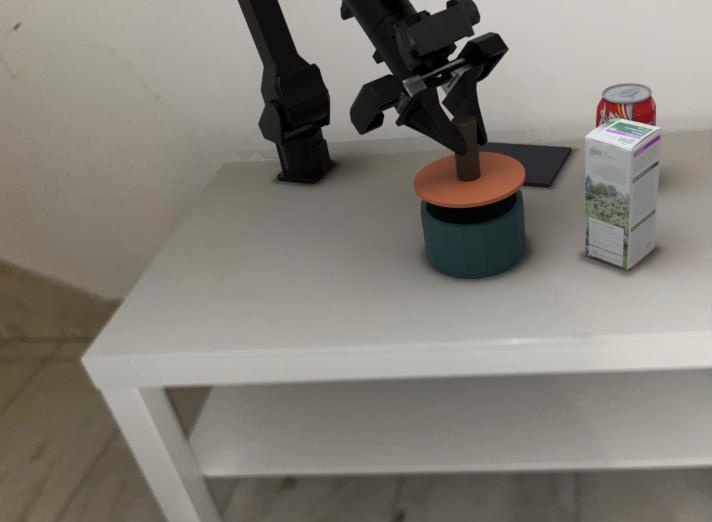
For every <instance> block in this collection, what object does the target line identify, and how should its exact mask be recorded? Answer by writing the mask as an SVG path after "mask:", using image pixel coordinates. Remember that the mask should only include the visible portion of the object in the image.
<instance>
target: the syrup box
mask: <svg viewBox="0 0 712 522" xmlns="http://www.w3.org/2000/svg"><path fill="white" fill-rule="evenodd" d="M662 132H663V128H662V127H661V126H657V125H656V126H651V125H647V124H643V123H639V122H634V121H630V120H625V119H621V118H616V117H615V118H612V119H610V120H609V121H606V122H605V123H603V124H601V125H600V126H598V127H597V128H596V127H595V128H594V129H593V130H591V131H590V132H589V133H588V134H586V135H585V136H584V218H585V219H584V224H585V225H584V232H585V233H584V235H585V239H584V240H585V243H584V246H585V248H584V249H585V256H587V257H589V258H592V259H595V260H597V261H601V262H603V263H606V264H609V265H611V266H614V267H617V268H619V269H622V270H625V271H629V270H630V269H631V268H632V267H634V266H636V265H637V264H638V263H639V262H640V261H642V259H644V258H645V257H646V256H648V255H649V254H650V253H651V252H652V251H653V250H655V249H656V248H655V247H656V234H657V233H656V231H657V229H656V227H657V210H658V195H659V180H660V165H661V155H662V154H661V152H662V135H663V133H662Z"/></svg>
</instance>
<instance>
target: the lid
mask: <svg viewBox="0 0 712 522" xmlns="http://www.w3.org/2000/svg"><path fill="white" fill-rule="evenodd" d="M450 121H451V122H452V124H453V125H454V127H455V128H456V130H457V131H458V133H459V134H460V136H461V138H462V139H463V141H464V143H465V145H466V147H467V149H468V152H467V153H466V154H465V155H464V156H460V155H458V154H457V153H455V152H453V153H454V154H451V155H447V156H444V157H441V158H439V159H436V160H433V161H431V162H430V163H428V164H426V165H425V166H423V167H422V168H421V169H419V171H418V172H417V173H416V175H415V177H414V179H413V190H414V193H416V195H417V196H418V197H419V198H420V199H421V200H424V201H426V202H429V203H431V204H434V205H438V206H443V207H452V208H467V207H476V206H482V205H487V204H491V203H494V202H497V201H500V200H502V199H505V198H507V197H508V196H510V195H512V194H513V193H515V192H516V191H517V190H518V189H519V190H520V189H521V188H522V186H524V185H523V183H524V181H525V169H524V167H523V165H522V164H521V163H520V162H519V161H517V160H516V159H514V158H512V157H510V156H507V155H503V154H499V153H492V152H479V148H478V136H477V125H476V118H475V116H473V115H459V116H456V117H453V118H451V119H450Z"/></svg>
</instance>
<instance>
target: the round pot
mask: <svg viewBox="0 0 712 522" xmlns="http://www.w3.org/2000/svg"><path fill="white" fill-rule="evenodd" d="M419 212H420V217H421V226H422V231H423V239H424V245H425V252H426V253H425V254H426V258H427V260H428V262H429V264H430V266H431V267H432V268H433V269H434V270H436V271H438V272H439V273H441V274H444V275H446V276H449V277H454V278H459V279H478V278H486V277H490V276H495V275H498V274H500V273H504V272H506V271H507V270H510V269H511V268H512V267H514V266H515V265H517V264H518V263H519V262H520V261H521V260H522V258H523V257H524V255H525V252H526V247H527V246H526V245H527V244H526V225H525V223H526V222H525V205H524V196H523V191H522V190H520V189H518V190H517V191H516V192H515V193H513V194H512V195H510V196H508V197H507V198H505V199H502V200H500V201H497V202H494V203H491V204H487V205H482V206H476V207H467V208H452V207H443V206H438V205H434V204H431V203H429V202H426V201H424V200H423V199H421V201H420V211H419Z"/></svg>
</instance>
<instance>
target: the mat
mask: <svg viewBox="0 0 712 522" xmlns="http://www.w3.org/2000/svg"><path fill="white" fill-rule="evenodd" d="M478 148H479V152H492V153H499V154H503V155H507V156H510V157H512V158H514V159H516V160H517V161H519V162H520V163H521V164H522V165H523V167H524V169H525V181H524V183H523V185H522V186H528V187H529V186H530V187H540V188H541V187H543V188H550V187H551V185H552V183H553V182H554V180H555V178H556V177H557V175H558V174H559V172H560V170H561V169H562V168H563V165H564V164H565V162H566V160H567V159H568V157H569V156H570V154H571V153H572V147H570V146H554V145H541V144H538V145H537V144H524V143H509V142H508V143H507V142H493V141H492V142H491V141H487V143H486V144H485V145H483V146H481V145H479V144H478Z"/></svg>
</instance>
